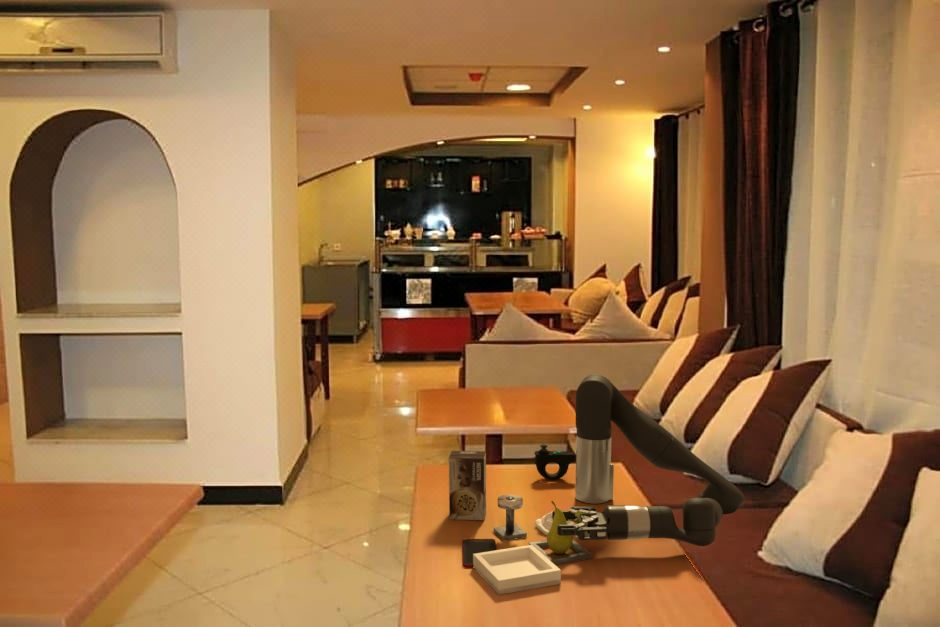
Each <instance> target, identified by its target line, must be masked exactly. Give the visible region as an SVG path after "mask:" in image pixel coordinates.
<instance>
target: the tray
mask: <svg viewBox="0 0 940 627" xmlns="http://www.w3.org/2000/svg"><path fill="white" fill-rule="evenodd" d="M473 565H474V568H475V569H476V570H475V569H474V568H473V569H474V570H475V571H476V572H477V573H478V574H479V576H480V577H481V578H482V579H483V580H484V581H485V582H486V583H487V584H488V585H489V586H490V587H491V589H493V591H495V593H496V594H497V595H499V596H500V595H505V594H511V593H517V592H523V591H527V590H534V589H538V588H539V589H540V588H545V587H550V586H556V585H560V584H562V583H561V582H562V579H561V578H562V570H561V569H560V568H559V566H557V564H556V565H555V564H553V563H552V562H551V561H550V560H549V559H548V558H546V557H545V556H544V555H543V554H542V553H541V552H539V551H538V550H537V549H536V548H535V547H534V546H533V545H529V544H528V545H522V546H515V547H514V546H513V547H509V548H503V549H497V550H495V551H489V552H482V553H476V554H473Z"/></svg>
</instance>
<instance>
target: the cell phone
mask: <svg viewBox="0 0 940 627" xmlns="http://www.w3.org/2000/svg"><path fill="white" fill-rule="evenodd" d="M461 544H462V546H461V548H462V549H461V550H462V566H463V568H464V567H465V569H474V568H473V567H474V565H473V554H476V553H482V552H489V551H495V550H498V548H497V544H496V539H494V538H465V539H464V538H463V539H462V542H461Z"/></svg>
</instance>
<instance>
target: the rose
mask: <svg viewBox="0 0 940 627" xmlns="http://www.w3.org/2000/svg"><path fill="white" fill-rule="evenodd" d="M553 511H554V510H551V511H549V512H548V513H547V514H544V515H543V516H542V517H541V518H537V519H536V520H535V521H534V523H535V524H534V525H535V527H536V528H537V530H538V531H540V532H541V531H542V532H543V533H542V532H541V533H542V534H544V535H545V534H546V535H545V536H547V535H548V532H549V531H550V529H551V527H552V523H553V519H552V512H553ZM567 524H568V525H574V527H575V525H576V524H577V523H576V522H573V521H567Z"/></svg>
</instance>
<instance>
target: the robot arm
mask: <svg viewBox="0 0 940 627" xmlns="http://www.w3.org/2000/svg"><path fill="white" fill-rule="evenodd" d="M583 378H584V379H582V381H581V382H580V383H579V385H578V386H577V388H576V392H575V427H576V428H575V429H576V436H575V437H576V439H575V441H576V444H575V445H576V446H575V449H576V450H575V454H576V461H575V488H574V491H575V493H574V497H575V499H576V500H577V501H579V502H582V503H586V504H603V503H607V502H609V501H610V500H614V473H615V472H614V471H615V469H614V468H615V465H614V464H613V463H612V433H613V432H612V430H613V429H612V428H613V427H612V422H613V424H614V425H615V426H616V427H617V428H618V429H619V430H620V432H621V433H622V434H623V436H624V437H625V438H626V439H627V441H628V442H629V443H630V445H631V446H632V447H633V448H634V449H635V450H636V451H637V452H638V453H639V454H640V455H641V456H643V457H644V458H645V459H646V460H647V461H649V463H650V464H652V465H654V466H655V467H656V468H659V469H662V470H666V471H667V470H668V471H672V472H680V473H683V474H684V473H685V474H689V475H692V476H696V477H698V478H700V479H702V480H705V481H706V482H708V484H707V485H706V487H704V488H703V490H702V491H701V492H700V493H699V494H698V495H697V497H691V498H688V499H686V500H685V501H684V503H683V506H682V526H683V527H682V528H679V527H678V526H677V523H676V520H675V519H676V518H675V515H674V512H673V510H672V508H670V507H669V506H666V505H656V506H655V505H654V506H653V505H651V506H648V505H647V506H645V505H637V504H635V505H634V504H627V505H625V504H624V505H623V504H618V505H617V504H616V505H615V504H613V505H611V504H610V505H609V504H608V505H605V506H604V508H603V511H602V512H598V511H597V507H596V506H582V505H580V506H577V505H576V506H575V505H574V506H573V505H572V506H569V508H570V509H568V510H561V511H562V513H563V514H564V517H565V519H566V521H572V522H574V523H575V524H576V525H575V527H574V525H558V526H557V534H558V535H559V536H566V535H572V536H574V537H575V538H578V540H580V541H597V540H599V541H601V540H602V541H604V540H609V541H610V540H611V541H612V540H614V541H615V540H617V541H618V540H620V541H621V540H635V541H636V540H643V539H668V540H670V539H671V540H675V541H681V542H683V543H687V544H690V545H693V546H696V547H697V546H698V547H706V546H710V545H711V544H712V543H714V541H715V539H716V527H717V526H718V525H719V524H720V523H721V521H722V519H723V515H729V514H732V513H735V512H736V511H737V510H738V509H739V508H740V507H741V506H742V504H744V501H745V496H744V494H743V492H742V491H741V490H740V489H739V488H738V487H737V486H736V485H734V483H732V482H731V481H730V480H728V479H727V478H726V477H724V476H723V475H722V474H720V473H719V472H717V470H715V469H714V468H712V467H711V466H710V465H709V464H707V463H706V462H704V461H703V460H702V459H700V458H699V457H698V456H697V455H696V454H694V453H693V452H692V450H690V449H689V448H688V447H686V446H685V444H683V443H682V442H681V441H680V440H679V439H678V438H676V436H674V435H673V434H672V433H671V432H669V431H668V429H666V428H664V427H663V425H661V424H659V423H658V422H657V421H655V420H654V419H653V418H652V417H651V416H649V415H648V414H647V413H645V412H644V411H643V410H641V409H640V408H639V407H637V406H636V405H635V404H634V403H632V402H631V401H630V400H629V399H628V398H627V397H626V396H625V395H624V394H623V393H622V392H621V391H620V390H619V389H618V387H616V385H614V384H613V383H612V382H611V381H610V379H608V378H607V377H605V376H603V375H601V374H596V373H595V374H590V375H587V376H586V377H583ZM552 511H553V512H552V519H553V517H554V515H555V510H552Z"/></svg>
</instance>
